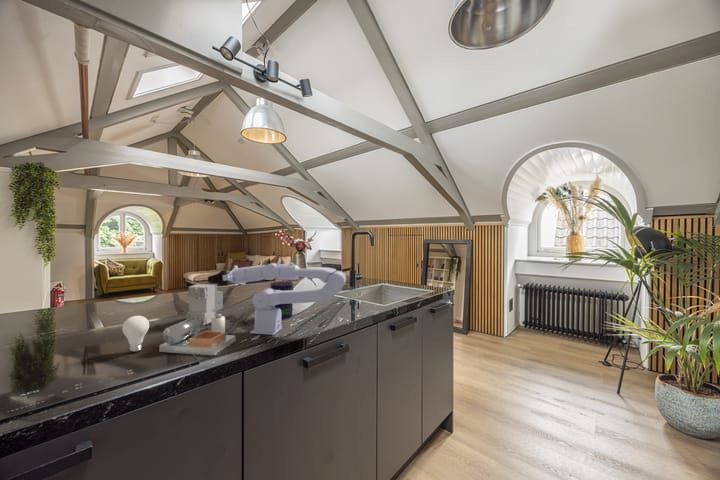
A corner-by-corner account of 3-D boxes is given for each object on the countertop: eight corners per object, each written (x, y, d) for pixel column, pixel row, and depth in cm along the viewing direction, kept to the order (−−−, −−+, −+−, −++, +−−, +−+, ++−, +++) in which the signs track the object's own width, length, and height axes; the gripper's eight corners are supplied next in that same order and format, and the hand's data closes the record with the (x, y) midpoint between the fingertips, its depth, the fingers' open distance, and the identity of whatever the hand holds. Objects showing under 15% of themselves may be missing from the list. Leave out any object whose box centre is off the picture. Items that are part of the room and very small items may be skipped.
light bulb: (127, 357, 85) (127, 320, 85) (118, 352, 89) (118, 316, 88) (153, 350, 91) (153, 315, 90) (143, 345, 94) (143, 312, 94)
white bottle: (227, 332, 109) (227, 313, 109) (220, 336, 105) (220, 316, 104) (216, 331, 109) (216, 312, 109) (208, 335, 105) (209, 315, 105)
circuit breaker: (224, 315, 131) (225, 282, 131) (204, 325, 117) (205, 287, 117) (208, 314, 132) (209, 281, 132) (187, 324, 118) (187, 286, 117)
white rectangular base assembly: (235, 341, 100) (235, 319, 100) (214, 355, 88) (214, 330, 88) (186, 338, 102) (186, 316, 102) (159, 351, 90) (159, 327, 90)
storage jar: (275, 313, 137) (276, 281, 137) (295, 314, 136) (296, 282, 135) (265, 319, 127) (266, 284, 127) (287, 320, 126) (288, 285, 126)
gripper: (255, 263, 119) (223, 267, 119) (238, 264, 104) (201, 269, 105) (257, 280, 118) (224, 284, 119) (240, 284, 104) (204, 289, 105)
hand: (214, 278), depth 112 cm, fingers open, 7 cm apart
